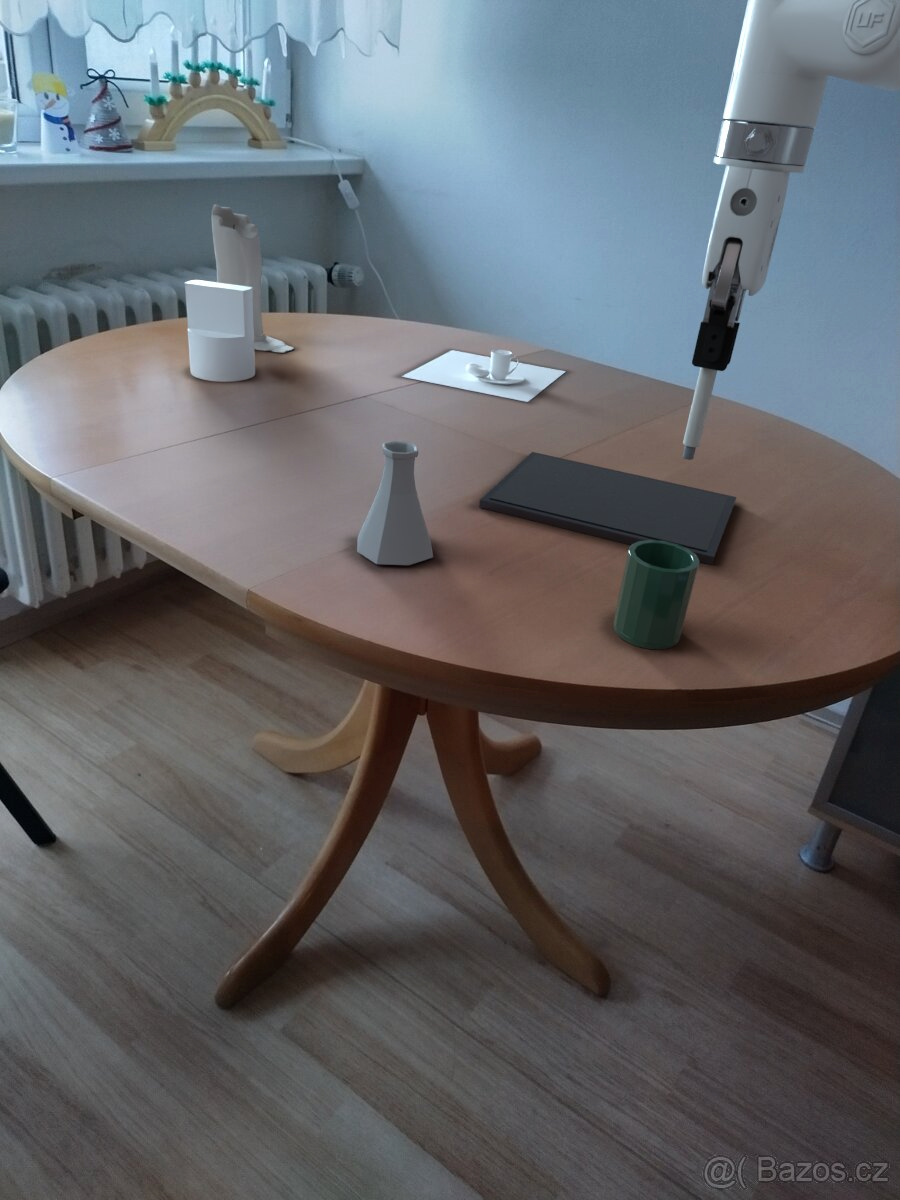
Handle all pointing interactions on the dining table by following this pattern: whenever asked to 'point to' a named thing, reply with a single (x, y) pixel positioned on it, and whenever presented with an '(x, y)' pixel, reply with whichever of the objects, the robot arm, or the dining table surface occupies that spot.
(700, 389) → the stylus
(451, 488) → the dining table surface
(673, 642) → the pen holder
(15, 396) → the dining table surface
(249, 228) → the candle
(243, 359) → the base with upright slab
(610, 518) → the tablet
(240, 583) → the dining table surface
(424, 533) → the flask
